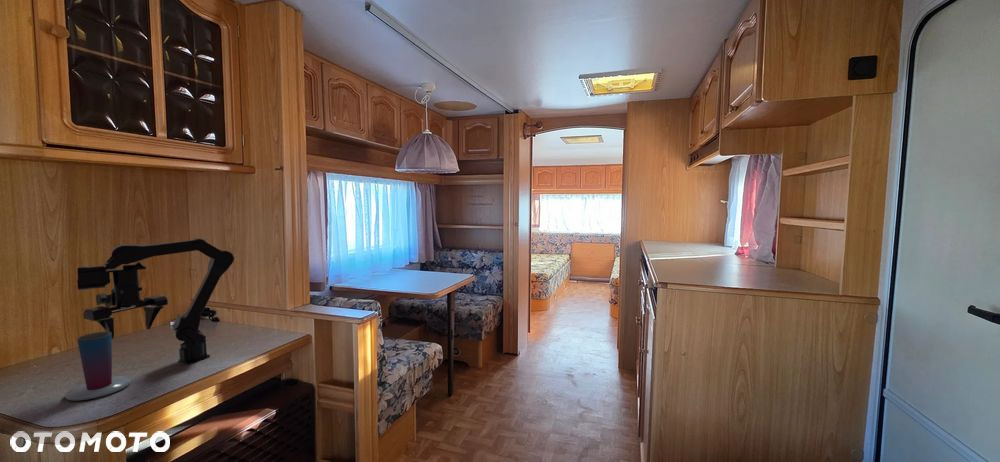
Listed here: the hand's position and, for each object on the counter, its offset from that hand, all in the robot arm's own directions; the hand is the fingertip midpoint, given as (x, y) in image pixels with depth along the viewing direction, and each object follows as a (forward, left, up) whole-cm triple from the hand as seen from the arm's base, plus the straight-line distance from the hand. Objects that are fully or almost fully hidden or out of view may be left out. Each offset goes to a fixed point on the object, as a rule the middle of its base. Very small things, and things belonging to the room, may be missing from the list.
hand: (130, 333), depth 121 cm
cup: (+10, +4, -12) cm, 16 cm away
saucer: (+10, +4, -13) cm, 17 cm away
